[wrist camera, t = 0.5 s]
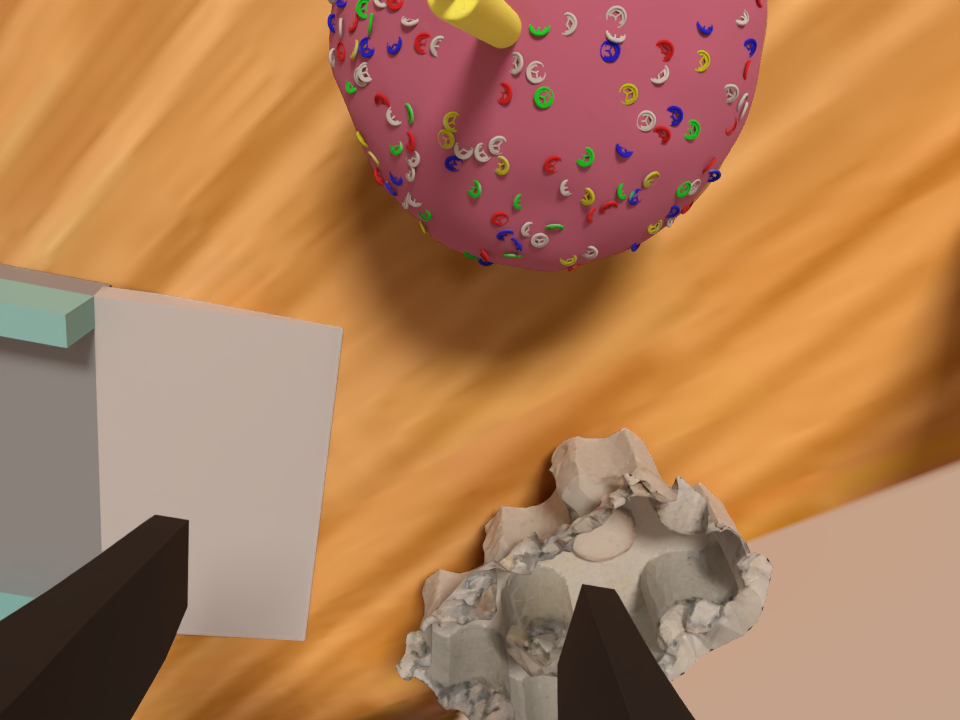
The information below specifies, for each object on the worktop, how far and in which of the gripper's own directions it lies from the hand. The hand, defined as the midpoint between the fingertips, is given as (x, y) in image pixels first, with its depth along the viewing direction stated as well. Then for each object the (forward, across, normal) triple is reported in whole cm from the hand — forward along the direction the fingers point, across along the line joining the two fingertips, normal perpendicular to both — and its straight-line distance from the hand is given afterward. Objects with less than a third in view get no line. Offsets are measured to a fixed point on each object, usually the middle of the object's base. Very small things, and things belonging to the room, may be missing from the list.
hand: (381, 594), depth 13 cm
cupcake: (+10, -1, -9) cm, 14 cm away
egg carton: (+11, -3, +6) cm, 13 cm away
